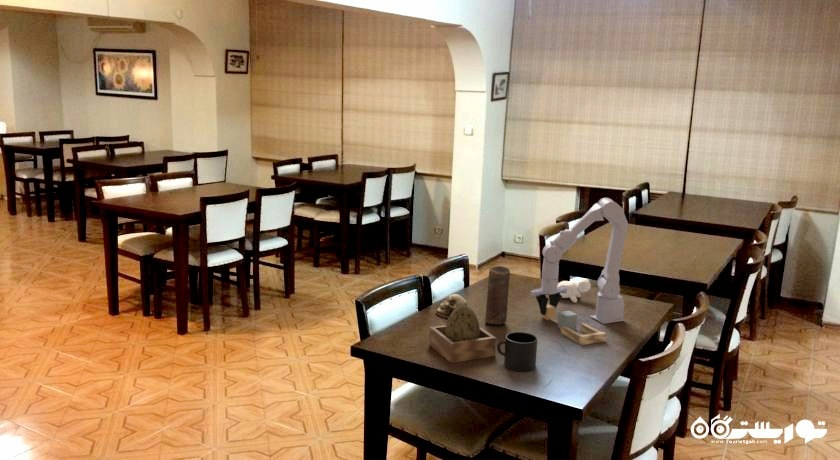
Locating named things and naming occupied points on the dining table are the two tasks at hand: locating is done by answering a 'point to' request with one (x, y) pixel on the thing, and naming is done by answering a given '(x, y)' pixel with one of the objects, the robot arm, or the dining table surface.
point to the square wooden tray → (462, 345)
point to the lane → (588, 338)
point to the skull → (450, 305)
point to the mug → (519, 351)
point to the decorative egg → (462, 324)
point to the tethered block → (561, 317)
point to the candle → (497, 295)
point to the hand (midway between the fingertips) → (547, 313)
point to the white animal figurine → (574, 288)
